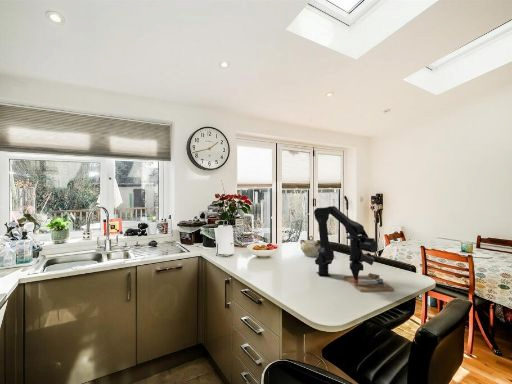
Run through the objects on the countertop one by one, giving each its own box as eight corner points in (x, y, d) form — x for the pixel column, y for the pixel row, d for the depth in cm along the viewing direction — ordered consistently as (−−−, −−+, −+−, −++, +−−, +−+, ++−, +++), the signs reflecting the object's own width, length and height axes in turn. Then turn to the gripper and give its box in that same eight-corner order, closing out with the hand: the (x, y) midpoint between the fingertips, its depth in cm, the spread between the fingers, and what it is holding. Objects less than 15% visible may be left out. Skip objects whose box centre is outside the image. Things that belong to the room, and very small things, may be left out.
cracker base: (344, 277, 143) (344, 271, 143) (373, 277, 144) (373, 270, 144) (360, 291, 123) (360, 284, 123) (393, 291, 124) (393, 283, 124)
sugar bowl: (327, 256, 190) (327, 236, 190) (315, 259, 180) (315, 239, 180) (306, 251, 205) (306, 233, 205) (294, 254, 196) (294, 235, 195)
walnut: (367, 279, 137) (367, 272, 137) (373, 279, 137) (373, 272, 137) (370, 281, 133) (370, 274, 133) (376, 281, 133) (376, 274, 133)
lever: (381, 282, 130) (381, 270, 130) (384, 284, 127) (384, 272, 127) (352, 281, 131) (352, 270, 131) (354, 284, 128) (354, 272, 128)
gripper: (375, 254, 118) (375, 287, 118) (371, 246, 135) (371, 275, 135) (349, 252, 121) (349, 284, 121) (349, 244, 139) (349, 272, 139)
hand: (355, 278), depth 129 cm, fingers closed on lever, 2 cm apart
